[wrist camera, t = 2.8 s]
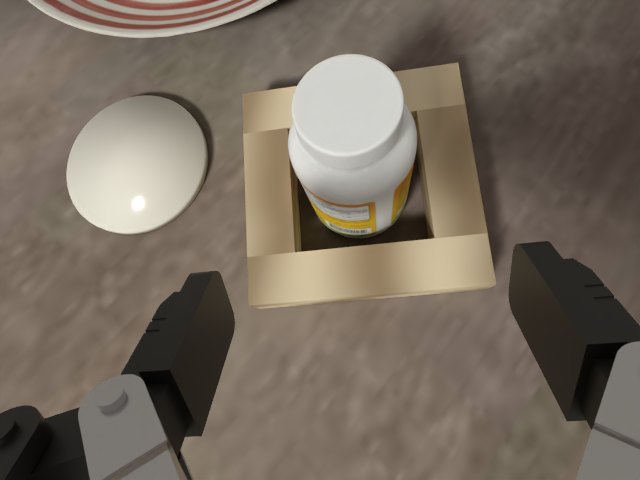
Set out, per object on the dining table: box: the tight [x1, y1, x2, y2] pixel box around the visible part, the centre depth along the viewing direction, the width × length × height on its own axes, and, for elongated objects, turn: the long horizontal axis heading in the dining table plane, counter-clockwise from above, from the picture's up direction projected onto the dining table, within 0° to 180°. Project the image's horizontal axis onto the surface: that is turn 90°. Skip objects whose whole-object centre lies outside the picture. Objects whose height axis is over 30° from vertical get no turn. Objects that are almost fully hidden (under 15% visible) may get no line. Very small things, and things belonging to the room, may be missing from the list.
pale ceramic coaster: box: [67, 95, 208, 235], centre depth 26 cm, size 9×9×1 cm
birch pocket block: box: [242, 63, 496, 309], centre depth 23 cm, size 12×12×2 cm
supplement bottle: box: [288, 54, 417, 238], centre depth 19 cm, size 5×5×10 cm
